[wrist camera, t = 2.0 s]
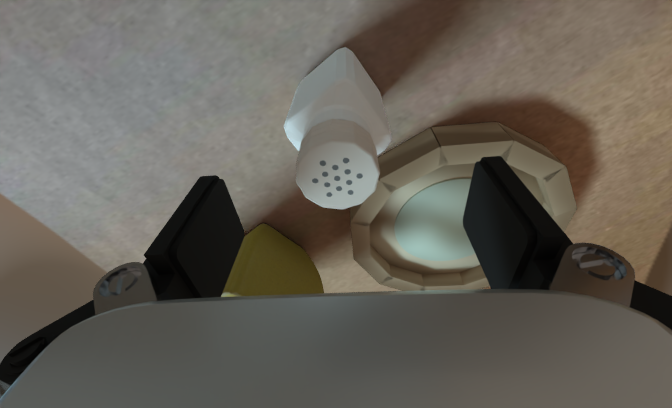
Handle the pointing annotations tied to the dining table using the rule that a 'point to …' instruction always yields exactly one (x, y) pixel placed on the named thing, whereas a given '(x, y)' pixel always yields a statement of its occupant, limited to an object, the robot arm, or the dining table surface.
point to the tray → (445, 204)
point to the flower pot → (271, 267)
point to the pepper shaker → (338, 132)
